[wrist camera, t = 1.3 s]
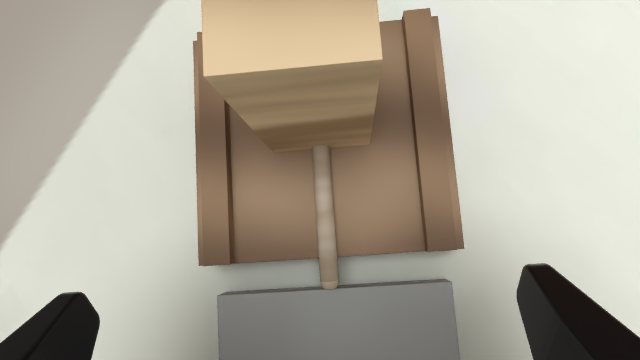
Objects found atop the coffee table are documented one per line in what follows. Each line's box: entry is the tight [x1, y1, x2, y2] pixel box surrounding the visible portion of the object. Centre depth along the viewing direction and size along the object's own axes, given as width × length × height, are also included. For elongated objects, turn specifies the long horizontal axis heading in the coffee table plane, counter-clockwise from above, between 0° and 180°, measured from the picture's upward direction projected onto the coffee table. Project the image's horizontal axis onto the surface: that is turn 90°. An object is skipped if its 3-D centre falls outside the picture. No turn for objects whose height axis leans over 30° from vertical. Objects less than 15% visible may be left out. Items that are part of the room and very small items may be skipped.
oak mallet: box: [201, 0, 383, 290], centre depth 15 cm, size 10×4×10 cm, turn 4°
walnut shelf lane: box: [193, 8, 464, 266], centre depth 21 cm, size 11×12×3 cm
